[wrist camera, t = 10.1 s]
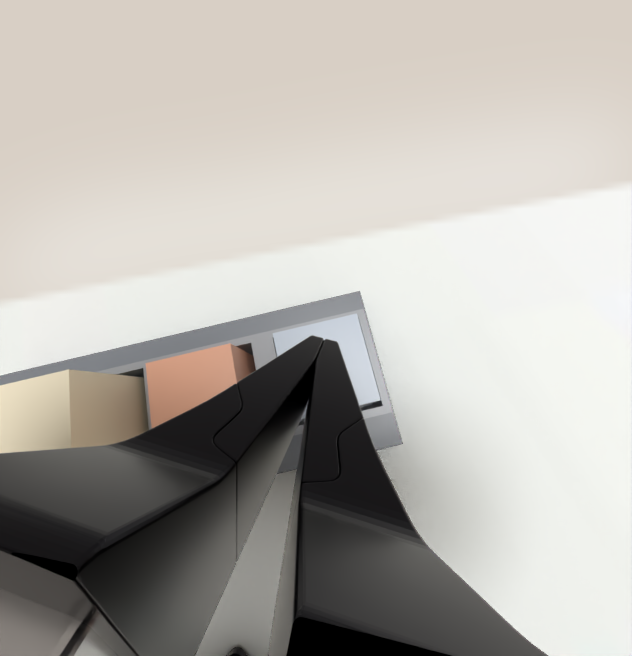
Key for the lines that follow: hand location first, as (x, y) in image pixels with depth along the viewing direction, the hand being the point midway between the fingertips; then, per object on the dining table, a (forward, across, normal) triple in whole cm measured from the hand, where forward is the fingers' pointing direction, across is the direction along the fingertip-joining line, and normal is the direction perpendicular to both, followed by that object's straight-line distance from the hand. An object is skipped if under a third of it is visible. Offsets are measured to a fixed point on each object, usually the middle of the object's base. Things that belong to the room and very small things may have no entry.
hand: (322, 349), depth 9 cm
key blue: (+7, 0, +7) cm, 10 cm away
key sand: (+1, +11, +10) cm, 14 cm away
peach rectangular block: (+5, +5, +9) cm, 11 cm away
